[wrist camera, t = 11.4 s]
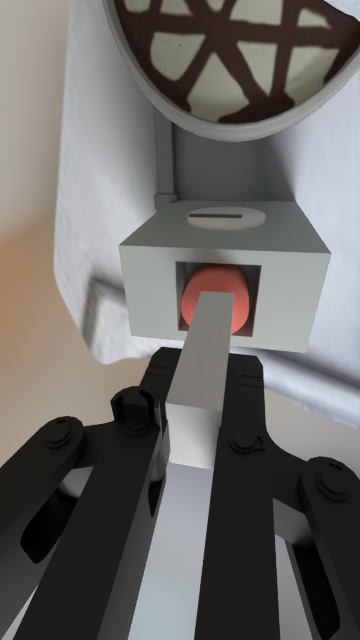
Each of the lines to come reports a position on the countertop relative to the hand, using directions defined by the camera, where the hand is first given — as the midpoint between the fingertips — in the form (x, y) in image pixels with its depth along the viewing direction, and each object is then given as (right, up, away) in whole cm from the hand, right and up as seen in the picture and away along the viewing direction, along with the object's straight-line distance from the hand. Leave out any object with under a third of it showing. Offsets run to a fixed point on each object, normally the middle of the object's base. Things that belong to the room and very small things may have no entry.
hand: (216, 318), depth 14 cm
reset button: (0, +2, +3) cm, 4 cm away
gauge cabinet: (+3, +7, +12) cm, 14 cm away
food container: (+1, +16, +6) cm, 17 cm away
